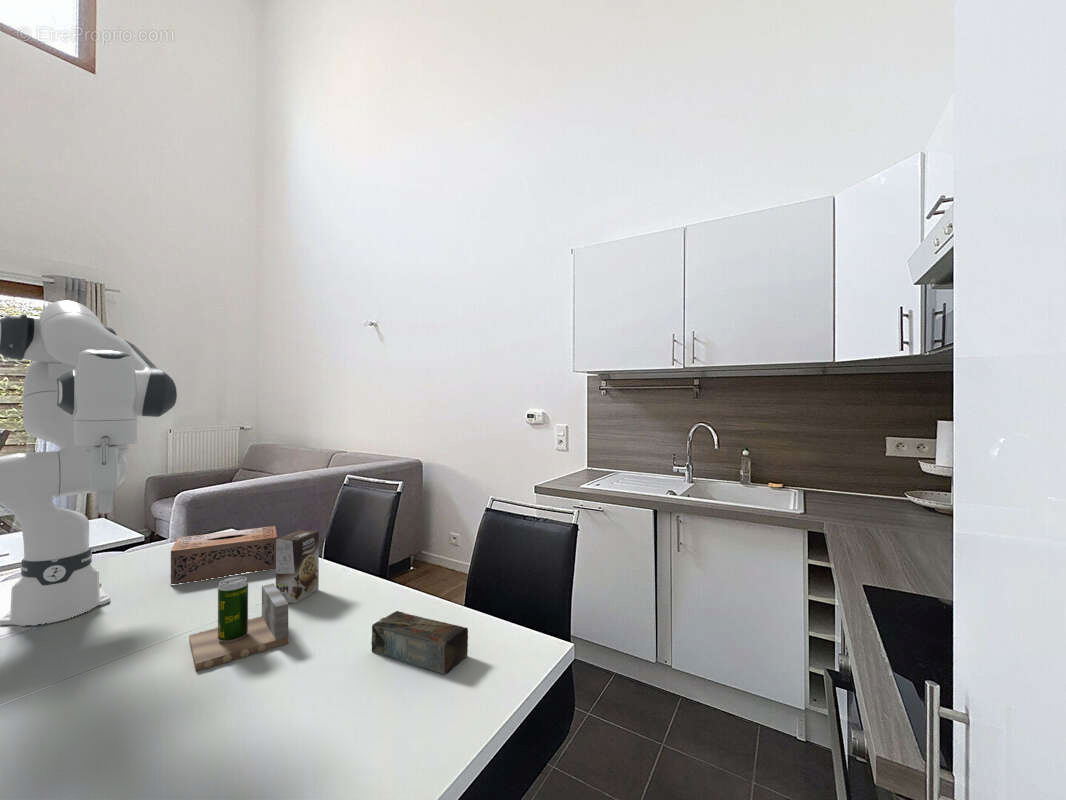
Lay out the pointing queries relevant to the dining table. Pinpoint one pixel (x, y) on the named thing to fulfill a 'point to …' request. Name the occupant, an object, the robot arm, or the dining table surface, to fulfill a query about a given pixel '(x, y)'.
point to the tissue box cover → (223, 554)
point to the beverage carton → (420, 641)
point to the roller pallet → (258, 638)
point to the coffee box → (297, 565)
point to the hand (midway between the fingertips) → (106, 507)
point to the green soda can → (232, 609)
